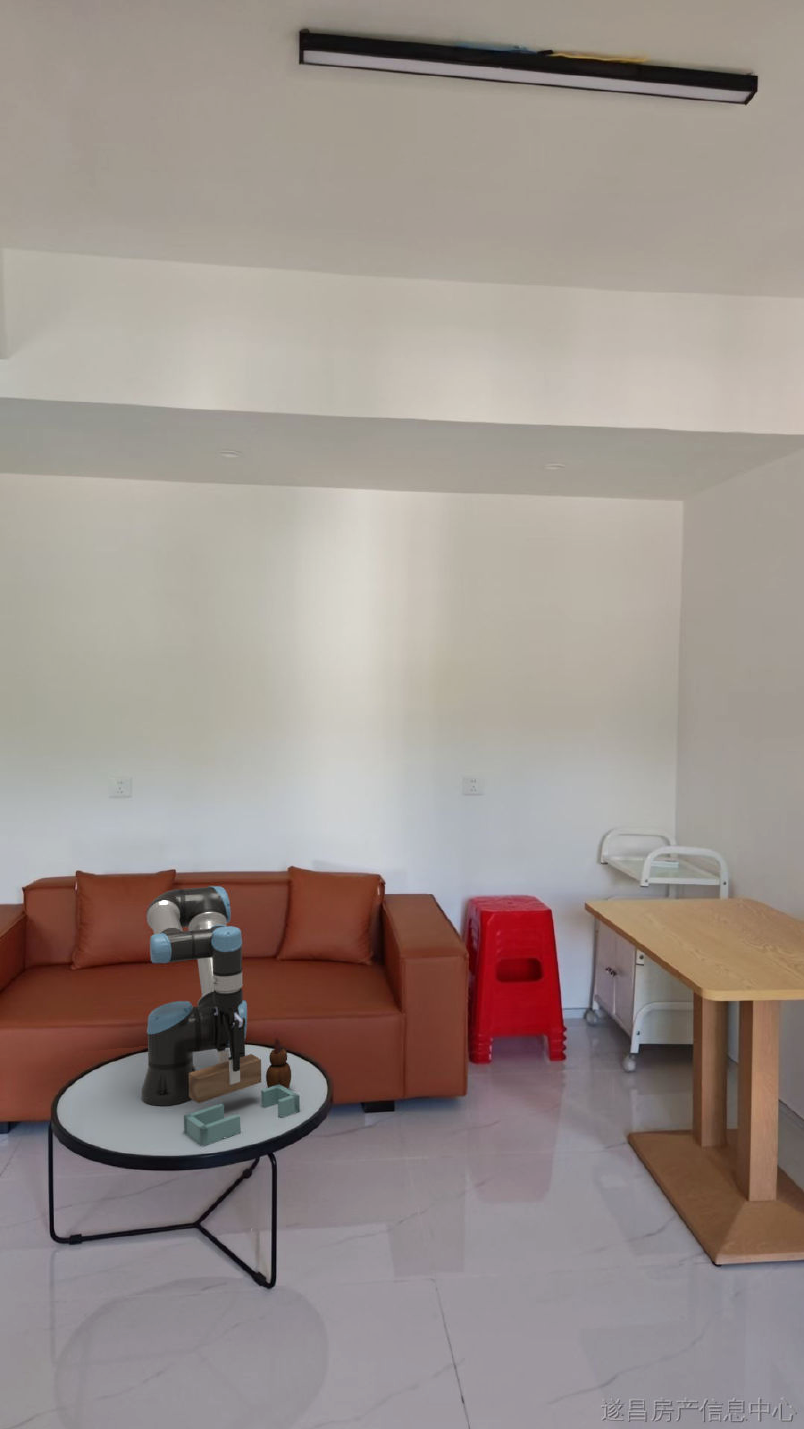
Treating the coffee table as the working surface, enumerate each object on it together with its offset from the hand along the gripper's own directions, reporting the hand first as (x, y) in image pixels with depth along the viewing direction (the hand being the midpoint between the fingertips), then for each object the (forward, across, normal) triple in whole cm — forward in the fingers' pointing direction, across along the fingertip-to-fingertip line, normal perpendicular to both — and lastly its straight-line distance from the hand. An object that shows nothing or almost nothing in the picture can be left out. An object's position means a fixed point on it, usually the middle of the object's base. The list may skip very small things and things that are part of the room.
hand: (229, 1078), depth 221 cm
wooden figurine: (+8, 0, +15) cm, 17 cm away
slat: (+2, 0, -1) cm, 3 cm away
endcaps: (+7, +9, -1) cm, 12 cm away
